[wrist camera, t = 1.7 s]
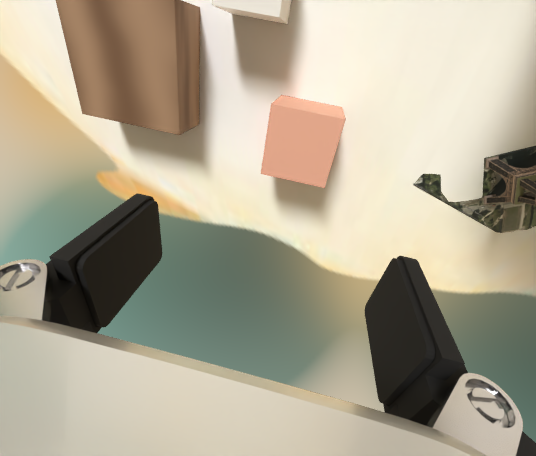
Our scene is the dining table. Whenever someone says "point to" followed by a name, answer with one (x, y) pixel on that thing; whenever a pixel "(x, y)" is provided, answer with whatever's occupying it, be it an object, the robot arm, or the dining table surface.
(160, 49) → the walnut base block
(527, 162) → the eiffel tower figurine
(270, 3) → the pale grey cube
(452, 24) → the dining table surface
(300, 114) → the terracotta cube
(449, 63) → the dining table surface
